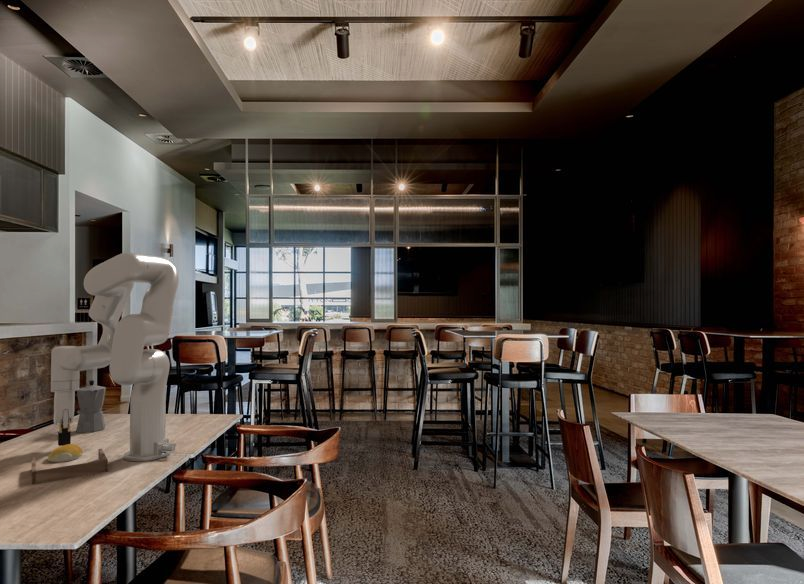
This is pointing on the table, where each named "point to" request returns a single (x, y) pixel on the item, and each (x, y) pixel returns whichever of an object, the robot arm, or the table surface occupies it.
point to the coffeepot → (91, 408)
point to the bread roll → (65, 453)
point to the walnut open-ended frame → (70, 470)
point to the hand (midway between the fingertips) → (64, 444)
